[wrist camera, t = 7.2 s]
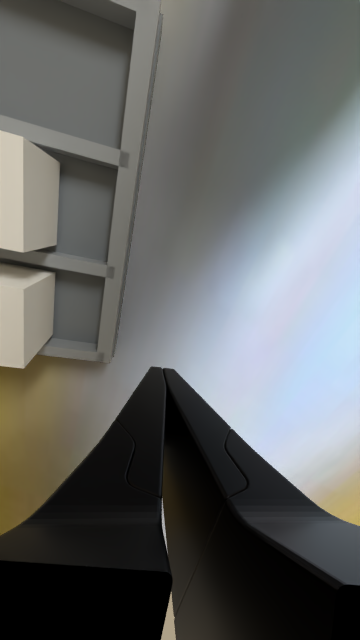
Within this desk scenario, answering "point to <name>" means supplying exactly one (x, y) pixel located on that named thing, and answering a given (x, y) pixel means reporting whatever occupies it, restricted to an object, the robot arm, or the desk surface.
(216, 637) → the robot arm
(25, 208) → the beige squarish block
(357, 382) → the desk surface
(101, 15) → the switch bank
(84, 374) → the desk surface
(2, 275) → the cream block
